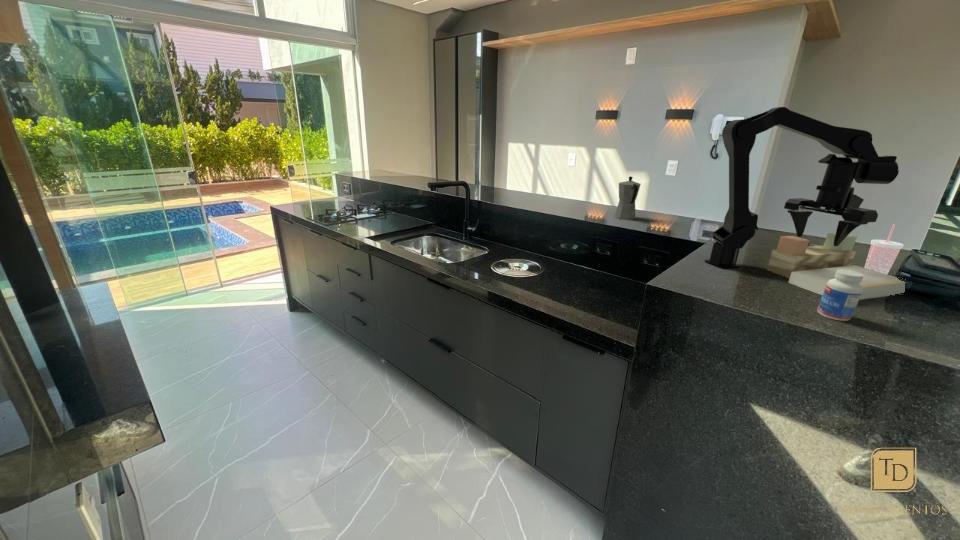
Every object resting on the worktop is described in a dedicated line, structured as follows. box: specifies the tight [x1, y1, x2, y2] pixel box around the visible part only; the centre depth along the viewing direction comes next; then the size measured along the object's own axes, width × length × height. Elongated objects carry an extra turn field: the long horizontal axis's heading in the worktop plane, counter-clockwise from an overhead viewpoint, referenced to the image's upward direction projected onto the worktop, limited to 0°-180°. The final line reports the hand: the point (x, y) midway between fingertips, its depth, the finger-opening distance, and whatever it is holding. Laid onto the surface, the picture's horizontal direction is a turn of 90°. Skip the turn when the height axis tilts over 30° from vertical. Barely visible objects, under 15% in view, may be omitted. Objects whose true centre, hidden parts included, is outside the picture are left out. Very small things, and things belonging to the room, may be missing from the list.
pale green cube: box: [822, 231, 858, 251], centre depth 103 cm, size 4×4×4 cm
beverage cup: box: [863, 223, 905, 275], centre depth 100 cm, size 6×6×14 cm
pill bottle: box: [816, 269, 864, 322], centre depth 77 cm, size 6×5×10 cm
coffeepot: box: [614, 176, 641, 221], centre depth 163 cm, size 15×9×18 cm, turn 178°
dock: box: [787, 264, 906, 301], centre depth 92 cm, size 22×12×3 cm, turn 104°
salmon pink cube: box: [776, 235, 810, 256], centre depth 99 cm, size 4×4×4 cm
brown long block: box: [766, 244, 857, 279], centre depth 103 cm, size 21×6×6 cm, turn 104°
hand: (816, 241), depth 101 cm, fingers open, 9 cm apart
